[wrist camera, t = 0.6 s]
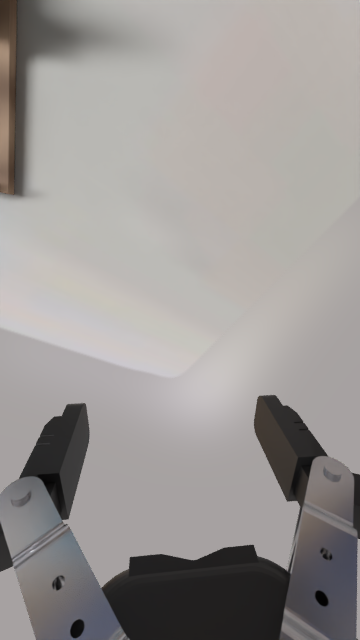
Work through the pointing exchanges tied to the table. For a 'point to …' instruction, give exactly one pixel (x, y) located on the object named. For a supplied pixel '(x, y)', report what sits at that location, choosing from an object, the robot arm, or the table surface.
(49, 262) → the table surface
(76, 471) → the robot arm
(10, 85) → the rail base
